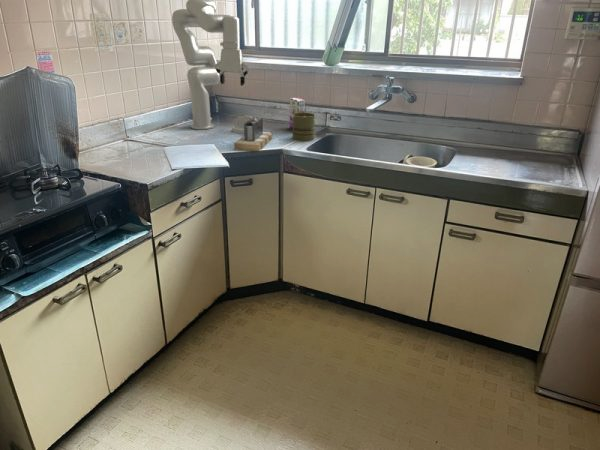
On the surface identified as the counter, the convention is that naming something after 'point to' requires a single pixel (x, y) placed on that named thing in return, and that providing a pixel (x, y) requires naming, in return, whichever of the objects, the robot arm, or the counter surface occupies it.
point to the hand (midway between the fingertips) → (232, 84)
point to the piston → (303, 127)
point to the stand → (254, 142)
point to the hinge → (241, 123)
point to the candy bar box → (296, 108)
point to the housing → (253, 129)
